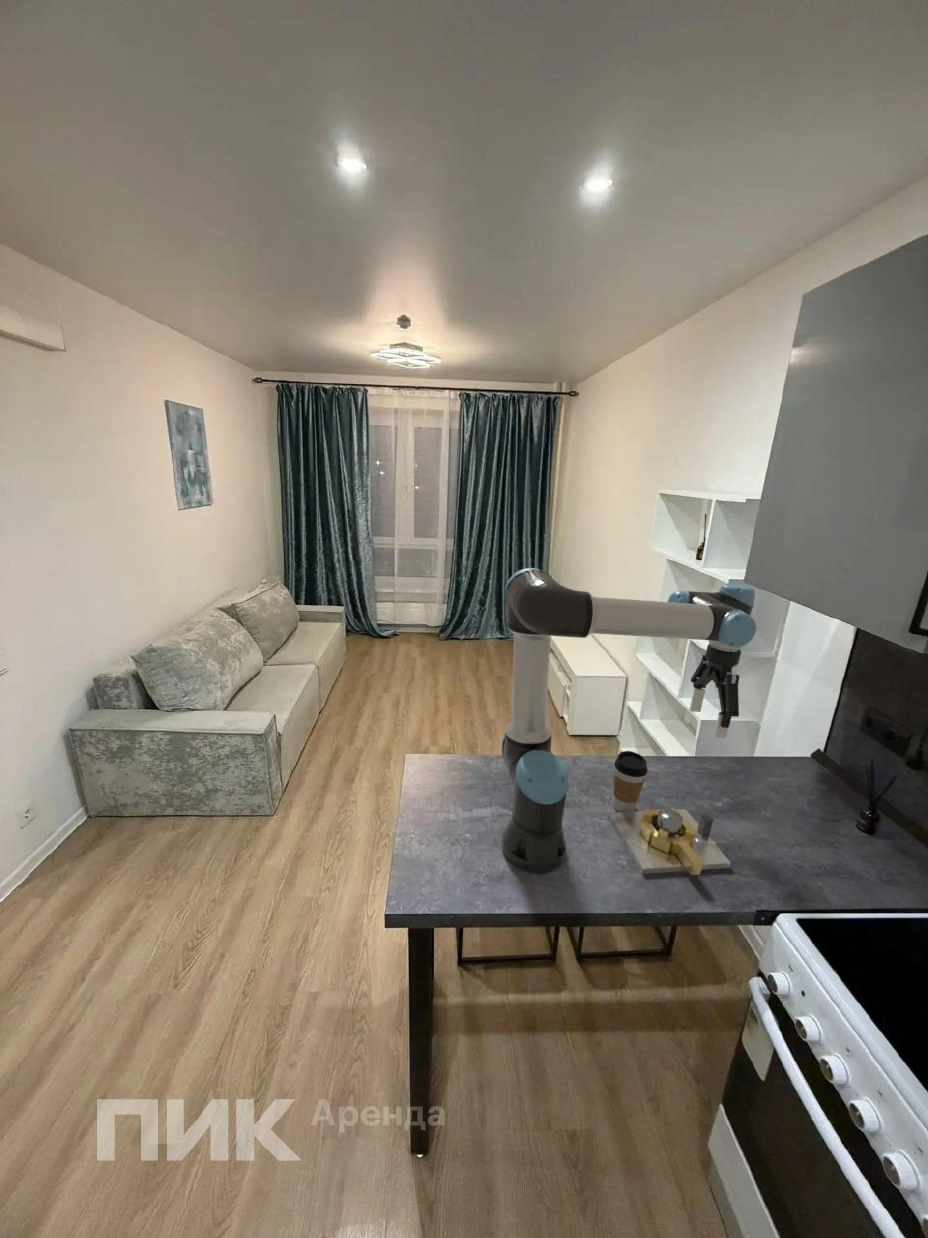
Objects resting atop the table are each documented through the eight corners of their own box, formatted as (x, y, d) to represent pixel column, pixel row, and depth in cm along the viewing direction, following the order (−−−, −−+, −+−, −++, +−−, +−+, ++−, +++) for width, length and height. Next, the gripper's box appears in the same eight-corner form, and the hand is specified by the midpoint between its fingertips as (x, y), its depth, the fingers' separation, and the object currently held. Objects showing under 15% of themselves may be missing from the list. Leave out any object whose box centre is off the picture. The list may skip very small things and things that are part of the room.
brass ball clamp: (632, 820, 129) (635, 806, 127) (675, 818, 130) (678, 804, 129) (670, 877, 111) (674, 861, 110) (719, 873, 113) (723, 858, 112)
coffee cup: (635, 798, 140) (644, 752, 136) (643, 819, 132) (652, 770, 128) (605, 795, 141) (613, 748, 136) (610, 815, 133) (619, 766, 128)
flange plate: (645, 880, 112) (651, 852, 110) (607, 817, 132) (611, 793, 129) (735, 873, 116) (743, 847, 113) (685, 813, 135) (691, 790, 133)
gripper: (769, 667, 111) (747, 750, 117) (715, 631, 135) (699, 702, 141) (736, 665, 111) (715, 749, 117) (687, 629, 135) (672, 700, 141)
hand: (706, 723), depth 129 cm, fingers open, 13 cm apart
